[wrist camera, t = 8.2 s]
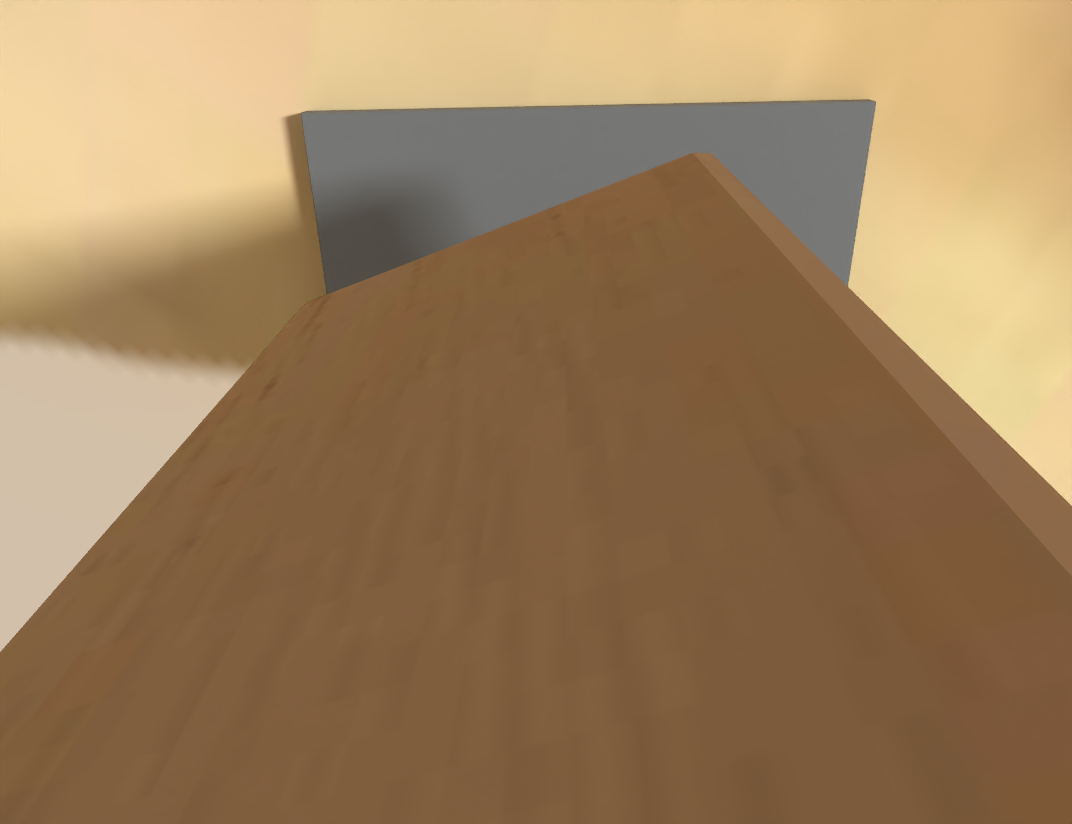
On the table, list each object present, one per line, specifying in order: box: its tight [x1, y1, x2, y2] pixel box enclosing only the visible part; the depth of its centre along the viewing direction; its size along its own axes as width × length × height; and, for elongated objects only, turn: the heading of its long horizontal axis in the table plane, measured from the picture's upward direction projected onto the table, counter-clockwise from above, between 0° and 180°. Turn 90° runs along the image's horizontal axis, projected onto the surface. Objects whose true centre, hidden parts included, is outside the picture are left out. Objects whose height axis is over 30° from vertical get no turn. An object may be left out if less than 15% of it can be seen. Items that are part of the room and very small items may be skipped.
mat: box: [301, 99, 876, 294], centre depth 26 cm, size 14×16×1 cm
